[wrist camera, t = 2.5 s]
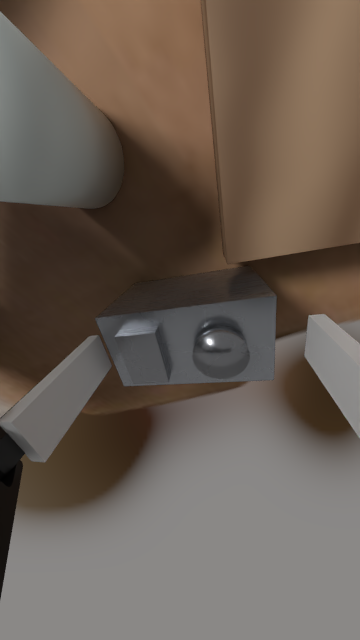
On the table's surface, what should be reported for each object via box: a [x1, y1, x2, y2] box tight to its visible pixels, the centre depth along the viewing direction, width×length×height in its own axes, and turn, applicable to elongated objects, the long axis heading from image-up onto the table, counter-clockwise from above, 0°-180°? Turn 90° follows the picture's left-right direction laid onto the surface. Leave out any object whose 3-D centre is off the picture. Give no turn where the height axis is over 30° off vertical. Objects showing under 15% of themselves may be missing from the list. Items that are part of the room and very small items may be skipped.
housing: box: [95, 265, 277, 386], centre depth 14 cm, size 10×6×8 cm, turn 101°
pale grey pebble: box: [0, 12, 124, 209], centre depth 10 cm, size 6×6×8 cm
